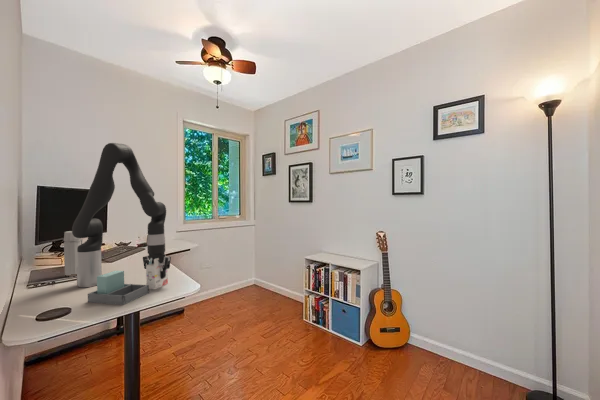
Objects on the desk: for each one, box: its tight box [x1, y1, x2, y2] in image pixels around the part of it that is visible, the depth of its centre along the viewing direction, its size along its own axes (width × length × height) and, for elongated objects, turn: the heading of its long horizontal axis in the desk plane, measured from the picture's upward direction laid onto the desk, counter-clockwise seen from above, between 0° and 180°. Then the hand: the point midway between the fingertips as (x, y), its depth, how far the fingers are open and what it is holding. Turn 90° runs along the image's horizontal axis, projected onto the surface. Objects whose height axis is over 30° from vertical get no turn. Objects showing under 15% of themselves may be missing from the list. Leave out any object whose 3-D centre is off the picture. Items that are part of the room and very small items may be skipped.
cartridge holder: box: [87, 283, 150, 306], centre depth 111 cm, size 17×13×4 cm
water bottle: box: [63, 230, 84, 276], centre depth 146 cm, size 9×8×25 cm
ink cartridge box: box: [145, 254, 169, 290], centre depth 124 cm, size 9×5×15 cm, turn 168°
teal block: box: [96, 270, 125, 294], centre depth 111 cm, size 5×9×10 cm, turn 169°
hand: (157, 277), depth 124 cm, fingers open, 5 cm apart
